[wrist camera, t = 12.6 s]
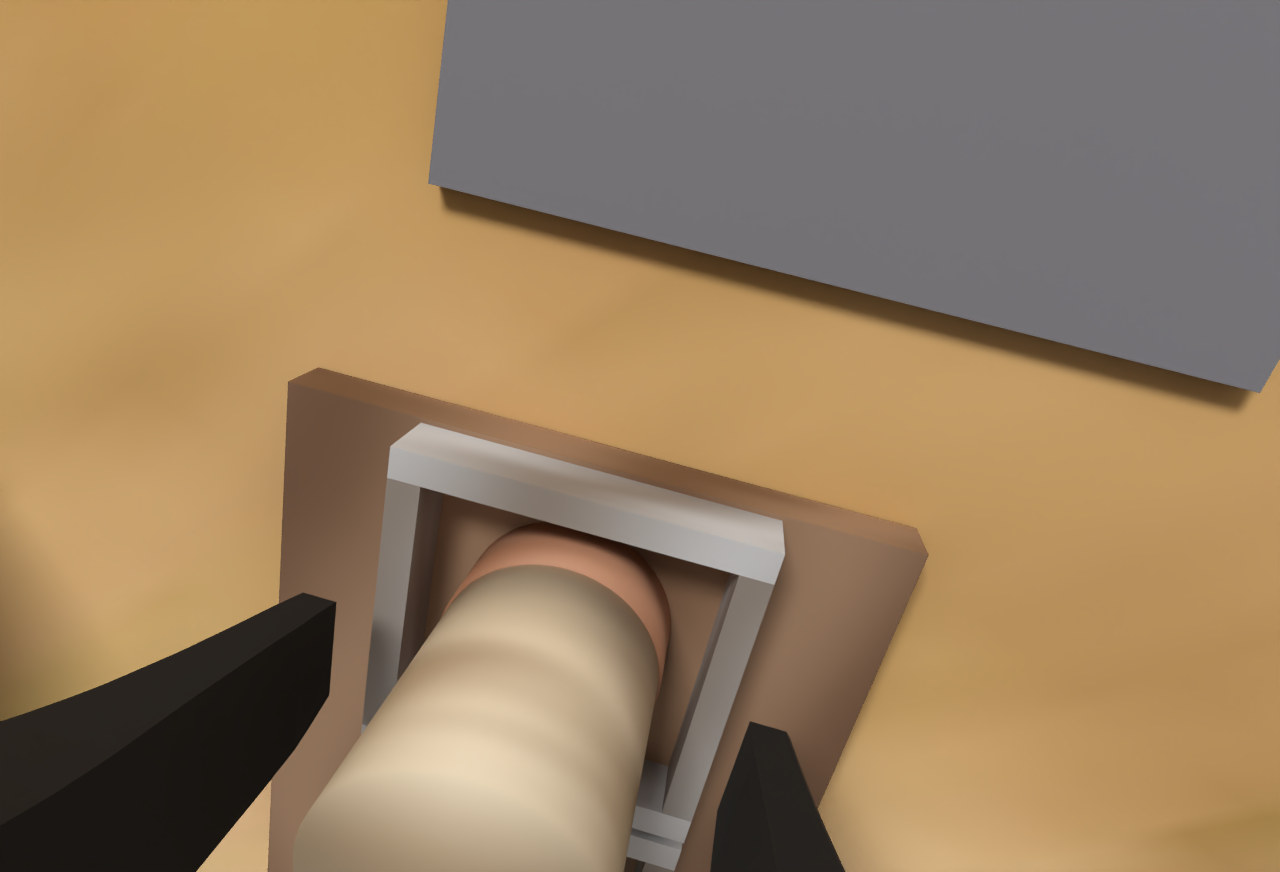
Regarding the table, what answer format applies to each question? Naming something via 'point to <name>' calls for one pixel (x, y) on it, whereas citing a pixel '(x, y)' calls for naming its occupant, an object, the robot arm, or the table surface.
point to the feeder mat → (909, 152)
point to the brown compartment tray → (603, 506)
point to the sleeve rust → (509, 722)
